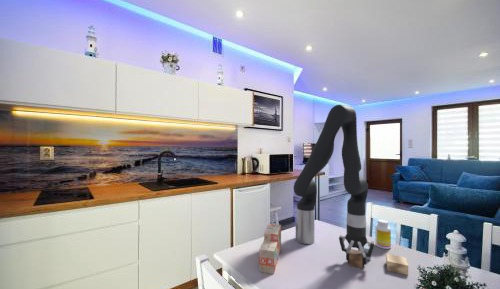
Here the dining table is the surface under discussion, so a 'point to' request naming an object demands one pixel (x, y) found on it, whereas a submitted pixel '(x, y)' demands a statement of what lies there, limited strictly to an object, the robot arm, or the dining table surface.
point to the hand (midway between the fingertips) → (356, 263)
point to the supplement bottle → (383, 235)
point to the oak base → (397, 264)
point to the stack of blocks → (270, 249)
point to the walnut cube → (355, 258)
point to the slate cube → (366, 251)
